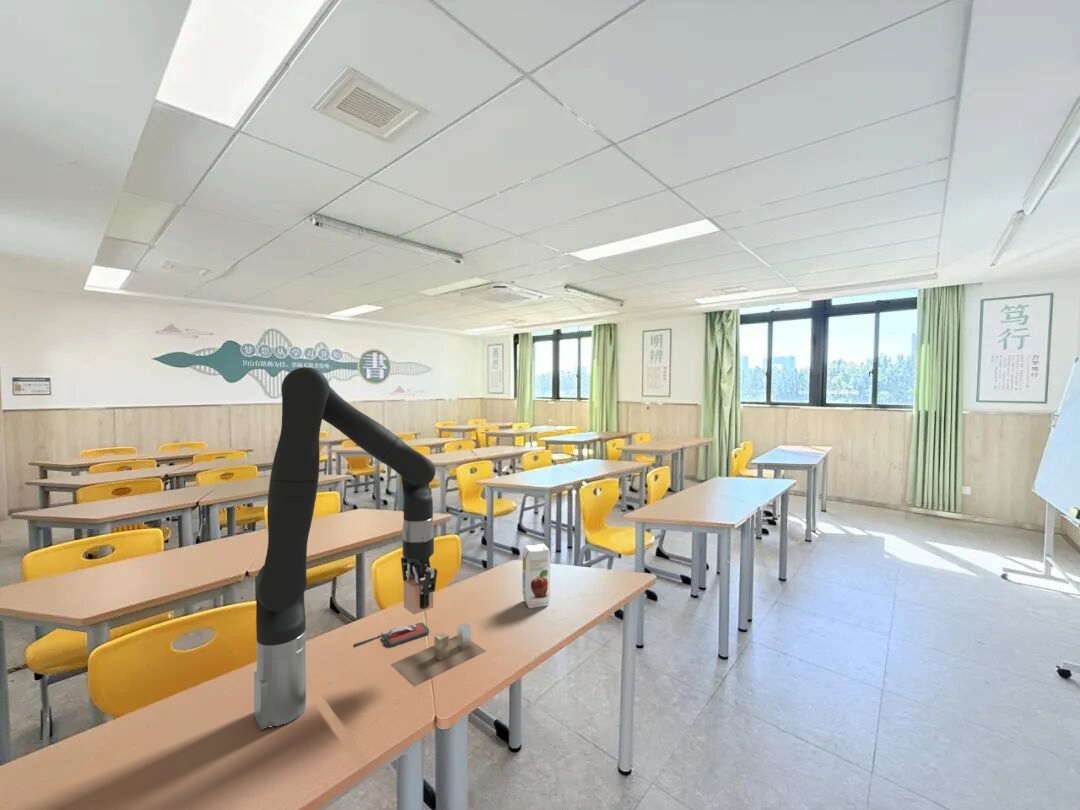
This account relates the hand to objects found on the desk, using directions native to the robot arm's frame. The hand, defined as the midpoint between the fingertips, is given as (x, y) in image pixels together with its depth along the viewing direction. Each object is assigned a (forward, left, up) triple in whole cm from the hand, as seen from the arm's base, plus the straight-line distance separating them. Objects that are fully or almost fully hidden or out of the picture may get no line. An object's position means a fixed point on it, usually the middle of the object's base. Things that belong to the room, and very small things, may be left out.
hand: (418, 603), depth 111 cm
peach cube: (0, 0, -1) cm, 1 cm away
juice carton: (+48, +7, -18) cm, 51 cm away
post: (+14, 0, -16) cm, 21 cm away
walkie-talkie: (+2, +17, -18) cm, 25 cm away
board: (+6, 0, -18) cm, 19 cm away
